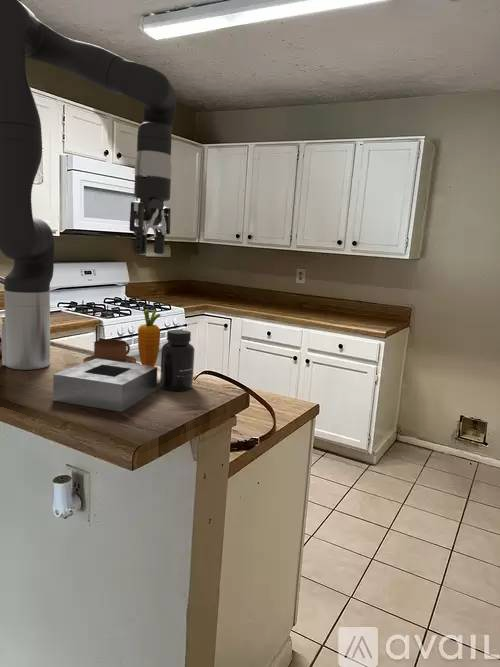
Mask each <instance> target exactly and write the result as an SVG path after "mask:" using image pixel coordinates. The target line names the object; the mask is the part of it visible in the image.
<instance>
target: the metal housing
mask: <svg viewBox="0 0 500 667" xmlns="http://www.w3.org/2000/svg"><path fill="white" fill-rule="evenodd" d="M157 371H158V366H147V365H142V364H141V363H140V364H138V363H135V364H133V363H126V362H118V361H111V360H104V359H97V358H96V359H93V360H91V361H88V362H85V363H84V362H83V363H79V364H78V365H75V366H72V367H69V368H67V369H64V370H61V371H59V372H56V373H54V374H53V375H52V376H53V378H52V380H53V384H52V385H53V386H52V388H53V392H52V393H53V396H52V397H53V399H52V400H53V401H54V402H55V401H56V402H59V403H60V402H61V403H66V404H72V405H78V406H83V407H85V406H86V407H91V408H97V409H102V410H109V411H113V412H121V413H123V412H124V411H126V410H127V409H129V408H131V407H133V406H134V405H136V404H137V403H139V402H140V401H142V400H144V399H146V398H147V397H149V396H150V395H152V394H153V393H155V392H157V388H158V384H157Z"/></svg>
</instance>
